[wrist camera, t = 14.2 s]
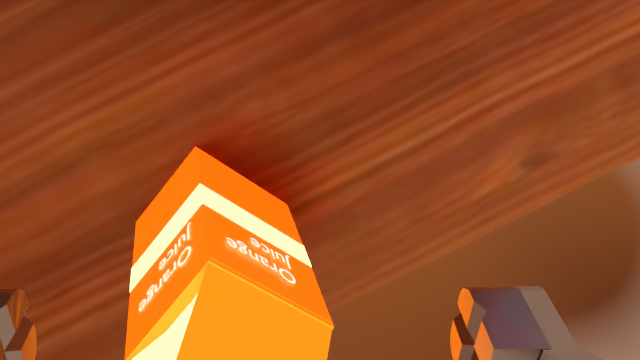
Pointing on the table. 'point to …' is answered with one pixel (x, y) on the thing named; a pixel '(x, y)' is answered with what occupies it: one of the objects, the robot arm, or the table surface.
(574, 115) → the table surface
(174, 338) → the orange juice
